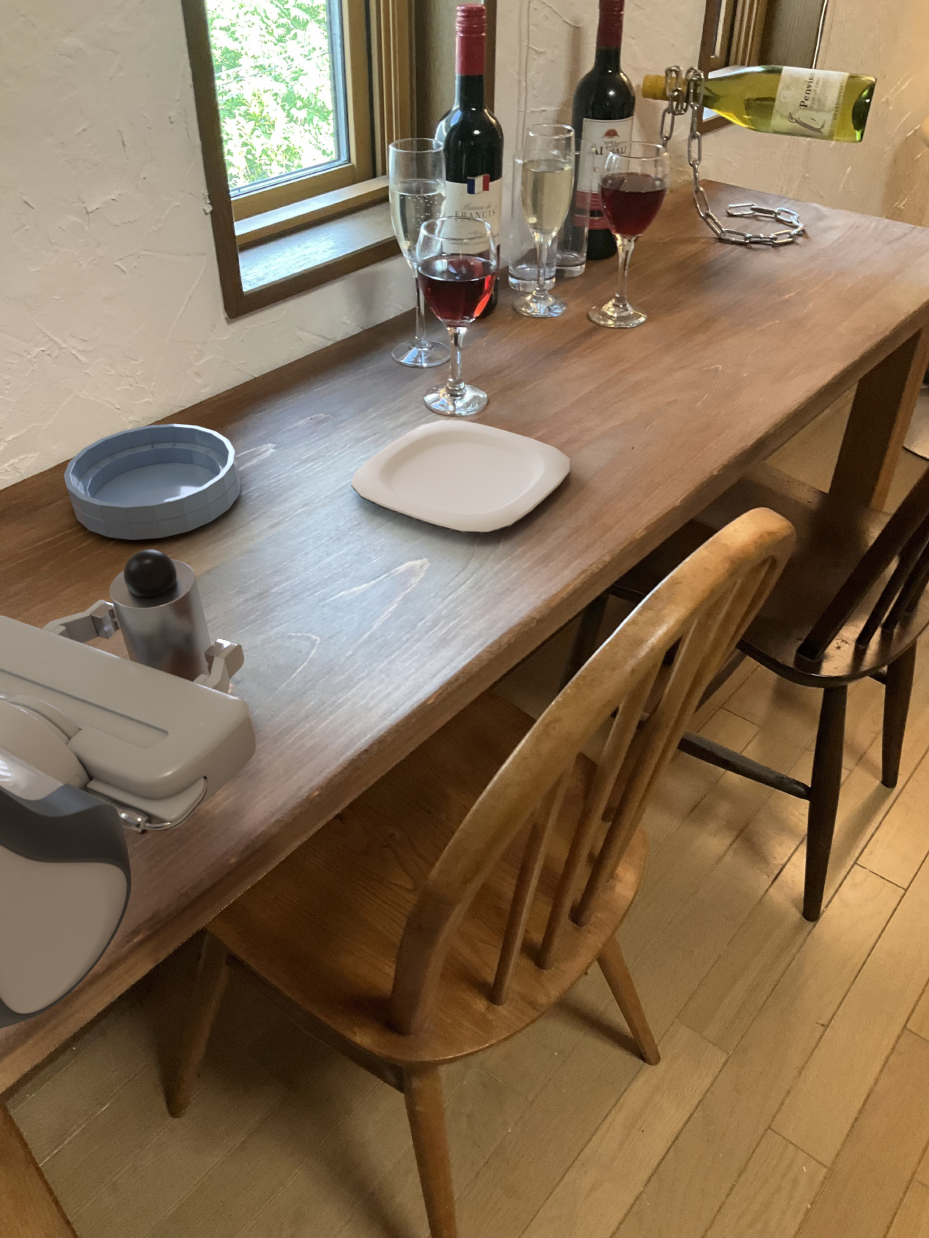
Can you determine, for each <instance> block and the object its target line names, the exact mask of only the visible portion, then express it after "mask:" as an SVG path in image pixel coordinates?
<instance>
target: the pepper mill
mask: <svg viewBox="0 0 929 1238" xmlns="http://www.w3.org/2000/svg"><path fill="white" fill-rule="evenodd" d="M109 595H110V599H111V603H113V606H114V609H115V612H116V616H117V619H118V622H119V625H120V629H119V630H120V633H121V635H122V638H123V641H124V644H125V648H126V651H127V655H128V659H129V660H132V661H135V662H137V663H140V664H143V665H146V666H149V667H152V668H155V669H157V670H160V671H163V672H166V673H169V674H172V675H175V676H178V677H181V678H183V679H186V680H189V681H192V682H193V681H194V680H195V679H196V678H197V677H198V676H199V675H201V674H204V675H207V676H208V677H210V674H209V671H208V667H207V666H208V663H207V661H206V659H205V654H204V652H205V651H206V650H207V649H208V648H209V647H210V646H212V641H211V638H210V634H209V633H210V632H209V629H208V624H207V620H206V616H205V612H204V608H203V603H202V600H201V599H202V598H201V595H200V590H199V586H198V581H197V577H196V574H195V571H194V569H193V568H192V567H191V566H190V565H188V564H187V563H185V562H183V561H181V560H176V559H172V558H171V557H170V556H168V555H167V554H166V553H164V552H163V551H160V550H157V549H143V550H140V551H138V552H136V553H134V554H133V555H132V556H130V557H129V559H128V560H127V561H126V563H125V566H124V568H123V570H122V571H120V573H119V574H117V575H116V576H115V577H114V578H113V580H112V582H111V583H110V587H109Z"/></svg>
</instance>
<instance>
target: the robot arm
mask: <svg viewBox="0 0 929 1238" xmlns="http://www.w3.org/2000/svg"><path fill="white" fill-rule="evenodd" d="M118 630H121V629H120V625H119V622H118V619H117V616H116V612H115V609H114V606H113V603H112V602H110V601H108V600H104V599H98V600H97V601H96V602H95V603H93V604H92V605H91V606H90V607H88V608H87V609H86V610H85V611H81V612H78V613H73V614H70V615H67V616H64V617H60V618H57V619H54V620H50V621H49V622H47V624H45V625H44V626H43V627H41V628H40V627H37V626H35V625H31V624H28V623H26V622H22V621H20V620H17V619H14V618H11V617H9V616H6V615H2V614H0V1030H1V1029H4V1028H7V1027H11V1026H14V1025H16V1024H20V1023H23V1022H25V1021H28V1020H30V1019H33V1018H35V1017H38V1016H40V1015H42V1014H44V1013H46V1012H47V1011H49V1010H51V1009H52V1008H54V1007H55V1006H56V1005H58V1004H59V1003H60V1002H62V1001H63V1000H64V999H65V998H66V997H67V996H69V995H71V993H72V992H73V991H74V990H75V989H77V987H78V986H79V985H80V984H81V983H82V982H83V981H84V980H85V979H86V978H87V976H88V975H89V974H90V973H91V971H92V970H93V969H94V968H95V967H96V965H97V964H98V963H99V961H100V960H101V958H102V957H103V956H104V954H105V952H106V951H107V950H108V948H109V946H111V945H110V944H111V943H112V941H113V940H114V938H115V936H116V934H117V932H118V930H119V928H120V927H121V924H122V921H123V919H124V917H125V915H126V911H127V909H128V906H129V902H130V897H131V893H132V892H131V891H132V872H131V861H130V855H129V848H128V843H127V838H126V834H125V831H126V832H129V833H132V834H134V835H141V836H143V835H146V834H147V833H148V832H161V831H167V830H169V829H170V830H175V829H177V828H179V827H181V826H182V825H184V824H185V823H186V822H188V820H189V819H190V818H191V817H192V816H193V815H194V813H195V812H196V811H197V810H198V808H199V807H201V806H202V805H203V804H204V803H206V802H207V801H208V800H209V799H210V798H211V797H213V796H214V795H215V794H216V793H217V792H218V791H220V790H221V789H222V788H223V787H224V786H225V785H226V784H227V783H229V782H230V781H231V779H232V778H234V777H235V776H236V775H237V774H238V773H239V772H240V771H241V770H242V769H243V768H244V767H245V766H246V765H247V764H248V763H249V762H250V760H251V759H252V758H253V757H254V755H255V753H256V750H257V736H256V728H255V724H254V720H253V716H252V714H251V713H252V712H251V710H250V706H249V704H248V703H247V701H246V700H244V699H242V698H240V697H238V696H235V695H232V694H229V691H230V683H231V681H230V679H232V678H233V677H234V676H235V675H236V673H238V672H239V670H240V669H241V668H243V665H244V662H245V656H244V652H243V646H242V645H241V644H240V643H236V642H234V641H230V640H227V639H225V638H224V639H223V638H218V639H217V640H215V641H214V644H212V645H211V646H210V647H209V648H208V649H207V650H206V651H205V652H204V654H205V659H206V661H207V663H208V666H207V667H208V671H209V674H210V677H208V676H207V675H204V674H201V675H199V676H198V677H197V678H196V679H195V680H194V681H193V682H192V681H189V680H186V679H183V678H181V677H178V676H175V675H172V674H169V673H166V672H163V671H160V670H157V669H155V668H152V667H149V666H146V665H143V664H140V663H137V662H135V661H132V660H130V658H126V657H122V656H120V655H117V654H114V653H111V652H108V651H106V650H102V649H100V648H97V647H94V646H92V645H89V644H86V643H87V642H89V641H91V640H94V639H96V638H98V637H99V638H102V639H106V640H109V639H110V638H111V637H113V636H114V635H115V634H116V632H117V631H118Z"/></svg>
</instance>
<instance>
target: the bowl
mask: <svg viewBox="0 0 929 1238" xmlns="http://www.w3.org/2000/svg"><path fill="white" fill-rule="evenodd" d="M63 478H64V482H65V486H66V490H67V492H68V496H69V500H70V502H71V505H72V508H73V512H74V515H75V518H76V519H77V522H79V523H80V524H82V525H83V526H84V527H85V528H86V529H87V530H88V531H90V532H93V533H95V534H99V535H101V536H103V537H107V538H111V539H120V540H131V541H137V540H149V539H163V538H167V537H170V536H175V535H179V534H184V533H187V532H190V531H193V530H195V529H198V528H200V527H202V526H204V525H207V524H208V523H211V522H213V521H214V520H216V519H217V518H219V517H220V516H221V515H223V514H224V513H226V511H228V510H229V509H230V508H231V507H232V505H233V504H234V502H235V501H236V500H237V499H238V497H239V495H240V491H241V483H242V480H241V475H240V469H239V464H238V459H237V453H236V450H235V448H234V446H233V444H232V443H231V441H230V440H229V438H227V437H225V436H224V435H222V434H221V433H219V432H218V431H216V430H213V429H209V428H205V427H203V426H199V425H194V424H193V425H191V424H179V423H165V424H150V425H144V426H139V427H136V428H135V427H134V428H130V429H125V430H121V431H119V432H116V433H113V434H111V435H108V436H107V435H106V436H104V437H102V438H100V439H98V440H96V441H94V442H92V443H91V444H89V445H87V446H86V447H84V448H82V449H81V450H80V451H79V452H78V453H77V454H76V455H75V456H74V457H73V458H72V459H70V460H69V462H68V464H67V467H66V469H65V472H64V474H63Z"/></svg>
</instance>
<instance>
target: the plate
mask: <svg viewBox="0 0 929 1238" xmlns="http://www.w3.org/2000/svg"><path fill="white" fill-rule="evenodd" d="M570 460H571V459H570V457H568V456H567V455H566V454H565V453H563V452H562V451H560V450H559V449H558V448H556V447H555V446H552V445H550V444H548V443H545V442H542V441H539V440H537V439H535V438H531V437H528V436H524V435H521V434H518V433H515V432H511V431H509V430H504V429H501V428H497V427H493V426H489V425H485V424H482V423H477V422H472V421H466V420H454V419H453V420H451V419H450V420H449V419H447V420H446V419H441V420H436V421H432V422H429V423H425V424H421V425H418V426H417V427H415V428H414V429H412V430H410V431H408V432H406V433H404V434H402V435H401V436H399V437H398V438H396V439H395V440H394V441H392V442H391V443H389V444H387V445H386V446H385V447H383V448H382V449H381V450H380V451H378V452H377V453H375V454H374V455H373V456H371V457H370V458H369V459H367V460H366V462H364V463H363V464H362V465H361V466H360V467H359V468H357V470H355V471H354V475H353V477H352V481H351V483H350V486H351V488H352V489H353V490H354V491H355V492H356V493H357V494H358V495H359V497H360V498H361V499H363V500H366V501H368V502H370V503H371V504H374V505H376V506H378V507H380V508H381V509H385V510H387V511H390V512H392V513H395V514H398V515H400V516H404V517H406V518H408V519H412V520H414V521H417V522H421V523H423V524H427V525H429V526H432V527H436V528H440V529H444V530H448V531H452V532H455V533H460V534H481V535H482V534H483V535H484V534H485V535H487V534H491V533H494V532H497V531H501V530H504V529H507V528H509V527H512V526H513V525H515V524H516V523H517V522H520V521H521V520H522V519H524V518H525V517H526V516H528V515H529V514H531V512H533V511H534V510H535V509H536V508H537V507H538V506H539V505H540V504H542V503H543V502H544V501H545V500H546V499H547V498H548V497H549V496H550V495H551V494H553V492H554V491H556V490H557V489H558V488H559V487H560V485H562V483H563V482H564V481H565V479H566V478H567V477H568V475H569V474H570V471H571V461H570Z"/></svg>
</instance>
